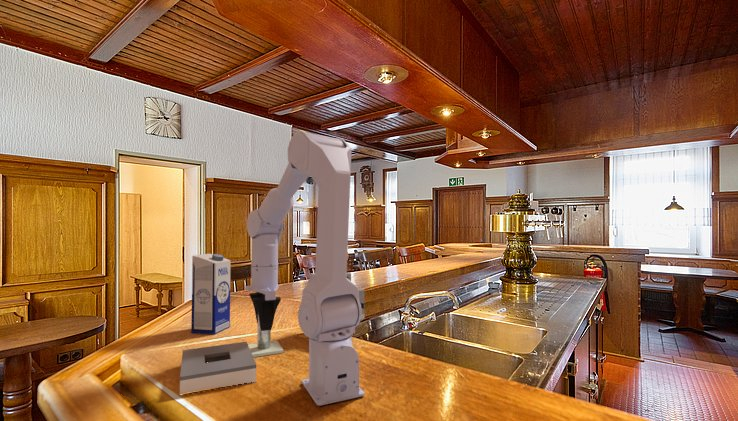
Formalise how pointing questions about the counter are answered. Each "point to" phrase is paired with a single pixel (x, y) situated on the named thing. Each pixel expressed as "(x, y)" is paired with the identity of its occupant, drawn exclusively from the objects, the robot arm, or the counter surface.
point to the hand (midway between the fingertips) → (264, 327)
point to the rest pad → (273, 349)
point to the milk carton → (210, 293)
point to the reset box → (216, 367)
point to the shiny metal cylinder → (263, 338)
